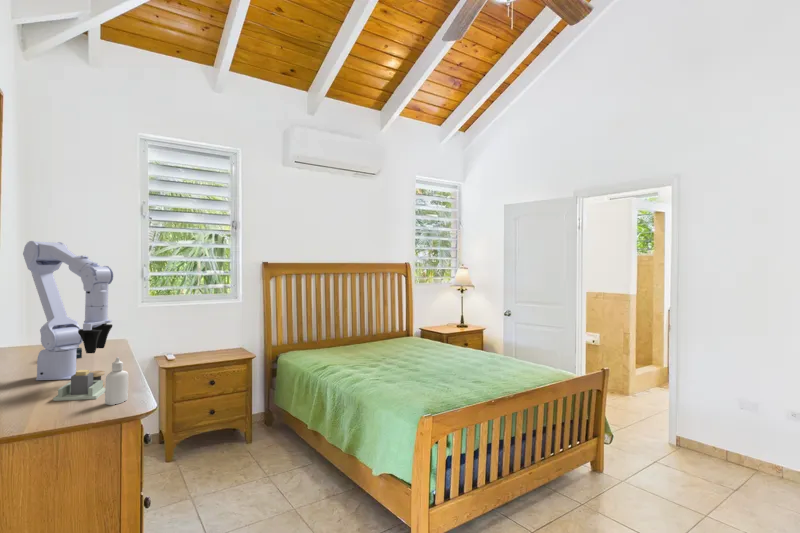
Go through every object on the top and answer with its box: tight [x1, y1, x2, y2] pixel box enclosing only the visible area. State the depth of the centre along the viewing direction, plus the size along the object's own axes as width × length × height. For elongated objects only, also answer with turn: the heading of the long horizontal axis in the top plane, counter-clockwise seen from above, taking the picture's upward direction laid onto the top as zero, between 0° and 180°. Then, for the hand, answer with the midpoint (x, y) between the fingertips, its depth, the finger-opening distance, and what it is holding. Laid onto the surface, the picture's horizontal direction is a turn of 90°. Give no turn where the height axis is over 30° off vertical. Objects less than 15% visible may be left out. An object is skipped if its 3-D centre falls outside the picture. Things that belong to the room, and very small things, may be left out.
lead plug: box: [70, 369, 93, 395], centre depth 126 cm, size 4×4×6 cm
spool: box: [89, 370, 105, 387], centre depth 135 cm, size 5×5×4 cm
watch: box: [76, 347, 83, 359], centre depth 170 cm, size 6×8×11 cm
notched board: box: [52, 379, 105, 402], centre depth 126 cm, size 10×8×3 cm
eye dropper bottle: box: [104, 356, 129, 406], centre depth 121 cm, size 4×6×12 cm
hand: (95, 350), depth 138 cm, fingers open, 7 cm apart
